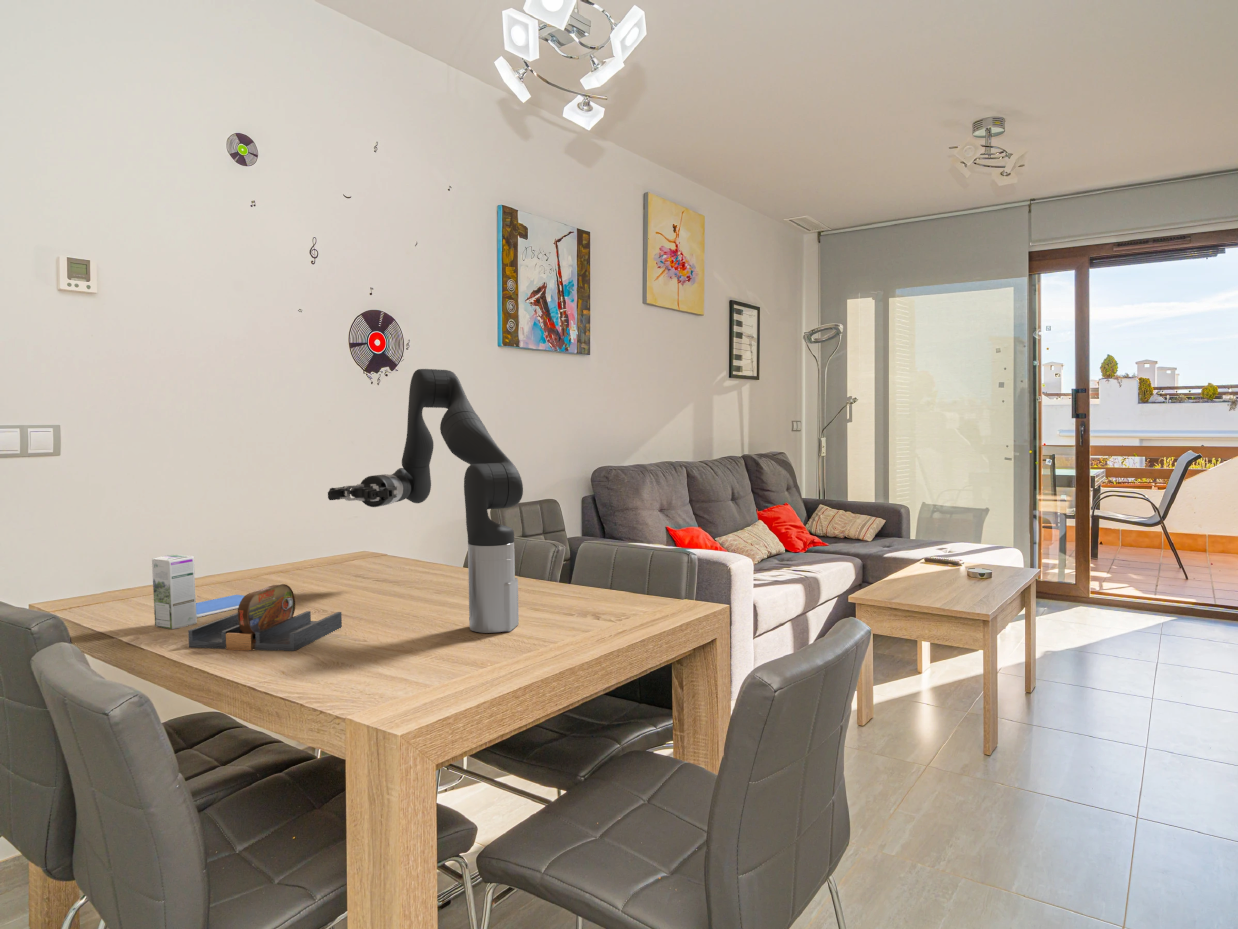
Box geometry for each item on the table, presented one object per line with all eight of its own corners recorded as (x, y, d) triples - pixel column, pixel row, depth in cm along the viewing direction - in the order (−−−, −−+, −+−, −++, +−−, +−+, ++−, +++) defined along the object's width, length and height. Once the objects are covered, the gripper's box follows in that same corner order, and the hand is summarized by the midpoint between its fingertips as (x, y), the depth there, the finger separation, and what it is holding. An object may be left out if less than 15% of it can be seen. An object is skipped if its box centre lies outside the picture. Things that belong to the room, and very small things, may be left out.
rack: (341, 627, 154) (341, 612, 154) (292, 652, 137) (291, 634, 137) (246, 624, 157) (246, 609, 157) (186, 648, 140) (186, 631, 140)
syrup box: (198, 623, 159) (195, 555, 159) (171, 630, 154) (168, 559, 153) (180, 621, 162) (177, 553, 161) (153, 627, 156) (150, 557, 156)
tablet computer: (237, 598, 186) (237, 593, 186) (272, 603, 181) (272, 597, 181) (159, 615, 169) (159, 610, 169) (195, 621, 164) (195, 615, 163)
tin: (250, 641, 140) (249, 596, 140) (235, 640, 141) (233, 595, 140) (297, 621, 155) (296, 580, 155) (283, 621, 156) (282, 580, 155)
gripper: (353, 474, 184) (317, 478, 168) (409, 474, 182) (377, 478, 166) (354, 505, 184) (318, 512, 168) (409, 505, 182) (378, 512, 166)
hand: (348, 495), depth 167 cm, fingers open, 8 cm apart
